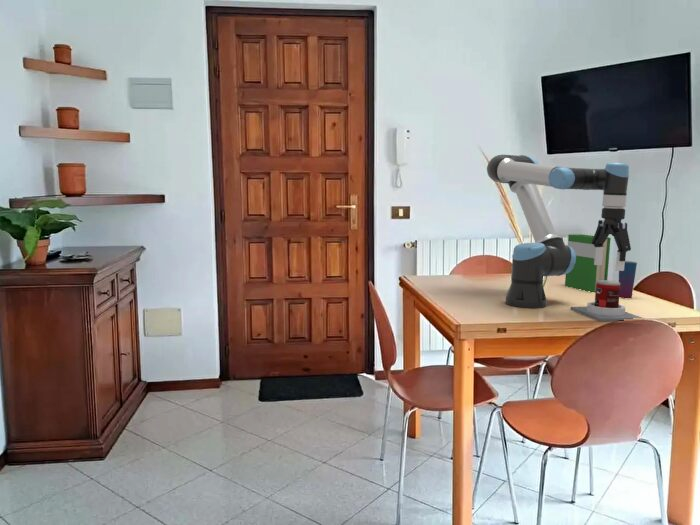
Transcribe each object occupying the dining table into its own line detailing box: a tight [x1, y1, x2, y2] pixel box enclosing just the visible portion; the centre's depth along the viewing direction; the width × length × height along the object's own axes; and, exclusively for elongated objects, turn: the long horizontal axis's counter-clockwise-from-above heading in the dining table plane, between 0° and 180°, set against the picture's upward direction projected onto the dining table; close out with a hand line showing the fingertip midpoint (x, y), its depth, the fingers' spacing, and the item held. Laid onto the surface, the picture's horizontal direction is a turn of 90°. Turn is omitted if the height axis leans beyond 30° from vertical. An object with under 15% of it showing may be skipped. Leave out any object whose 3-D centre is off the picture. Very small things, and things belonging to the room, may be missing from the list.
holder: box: [569, 301, 643, 322], centre depth 215 cm, size 16×20×4 cm
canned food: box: [594, 279, 620, 308], centre depth 214 cm, size 8×8×11 cm
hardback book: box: [564, 233, 611, 293], centre depth 270 cm, size 18×7×24 cm, turn 22°
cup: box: [618, 260, 638, 299], centre depth 251 cm, size 7×7×15 cm
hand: (608, 267), depth 213 cm, fingers open, 13 cm apart
